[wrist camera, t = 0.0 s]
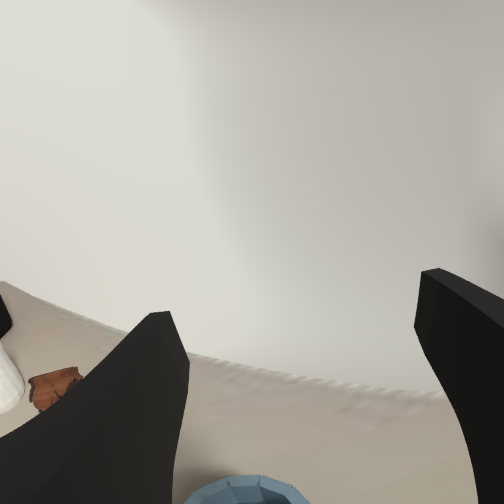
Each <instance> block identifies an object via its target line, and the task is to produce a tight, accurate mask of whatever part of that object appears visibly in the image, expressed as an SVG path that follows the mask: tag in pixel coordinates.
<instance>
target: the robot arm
mask: <svg viewBox="0 0 504 504" xmlns="http://www.w3.org/2000/svg"><path fill="white" fill-rule="evenodd" d="M414 328H415V331H416V334H417V336H418V339H419V342H420V344H421V347H422V349H423V351H424V354H425V356H426V358H427V360H428V361H429V363H430V365H431V367H432V369H433V371H434V373H435V374H436V376H437V378H438V380H439V382H440V384H441V385H442V387H443V389H444V391H445V393H446V395H447V397H448V399H449V401H450V403H451V405H452V407H453V409H454V411H455V413H456V415H457V418H458V420H459V422H460V425H461V428H462V431H463V435H464V438H465V441H466V444H467V447H468V451H469V455H470V459H471V463H472V467H473V472H474V477H475V483H476V489H477V495H478V504H504V299H502V298H500V297H498V296H496V295H494V294H492V293H490V292H488V291H486V290H484V289H482V288H480V287H478V286H476V285H474V284H473V283H471V282H469V281H467V280H465V279H463V278H461V277H459V276H457V275H454V274H452V273H450V272H448V271H445V270H443V269H440V268H437V269H431V270H427V271H422V272H421V280H420V288H419V296H418V304H417V310H416V317H415V323H414ZM189 367H190V362H189V359H188V357H187V354H186V352H185V349H184V347H183V345H182V342H181V339H180V337H179V334H178V332H177V329H176V326H175V324H174V322H173V319H172V316H171V313H170V311H164V312H154V313H150V314H149V315H147V316H146V317H145V318H144V319H143V320H142V321H141V322H140V323H139V324H138V325H137V326H136V327H135V328H134V329H133V330H132V331H131V332H130V333H129V334H128V335H127V336H126V337H125V338H124V339H123V340H122V341H121V342H120V343H119V344H118V345H117V346H116V347H115V348H114V349H113V350H112V351H111V352H110V353H109V354H108V355H107V356H106V357H105V358H104V359H103V360H102V361H101V362H100V363H99V364H98V365H97V366H96V367H95V368H94V369H93V370H92V371H91V372H90V373H89V374H88V375H86V376H85V377H84V378H83V379H82V380H81V381H80V382H79V383H78V384H77V385H76V386H75V387H73V388H72V389H71V390H70V391H69V392H68V393H66V394H65V395H64V396H63V397H61V398H60V399H59V400H58V401H56V402H55V403H54V404H52V405H51V406H50V407H48V408H47V409H46V410H44V411H43V412H41V413H40V414H38V415H37V416H35V417H34V418H32V419H31V420H29V421H28V422H26V423H25V424H23V425H22V426H20V427H19V428H17V429H15V430H13V431H12V432H10V433H8V434H6V435H5V436H3V437H1V438H0V504H172V484H173V468H174V461H175V454H176V449H177V444H178V439H179V434H180V429H181V424H182V419H183V414H184V409H185V404H186V399H187V394H188V383H189Z"/></svg>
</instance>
